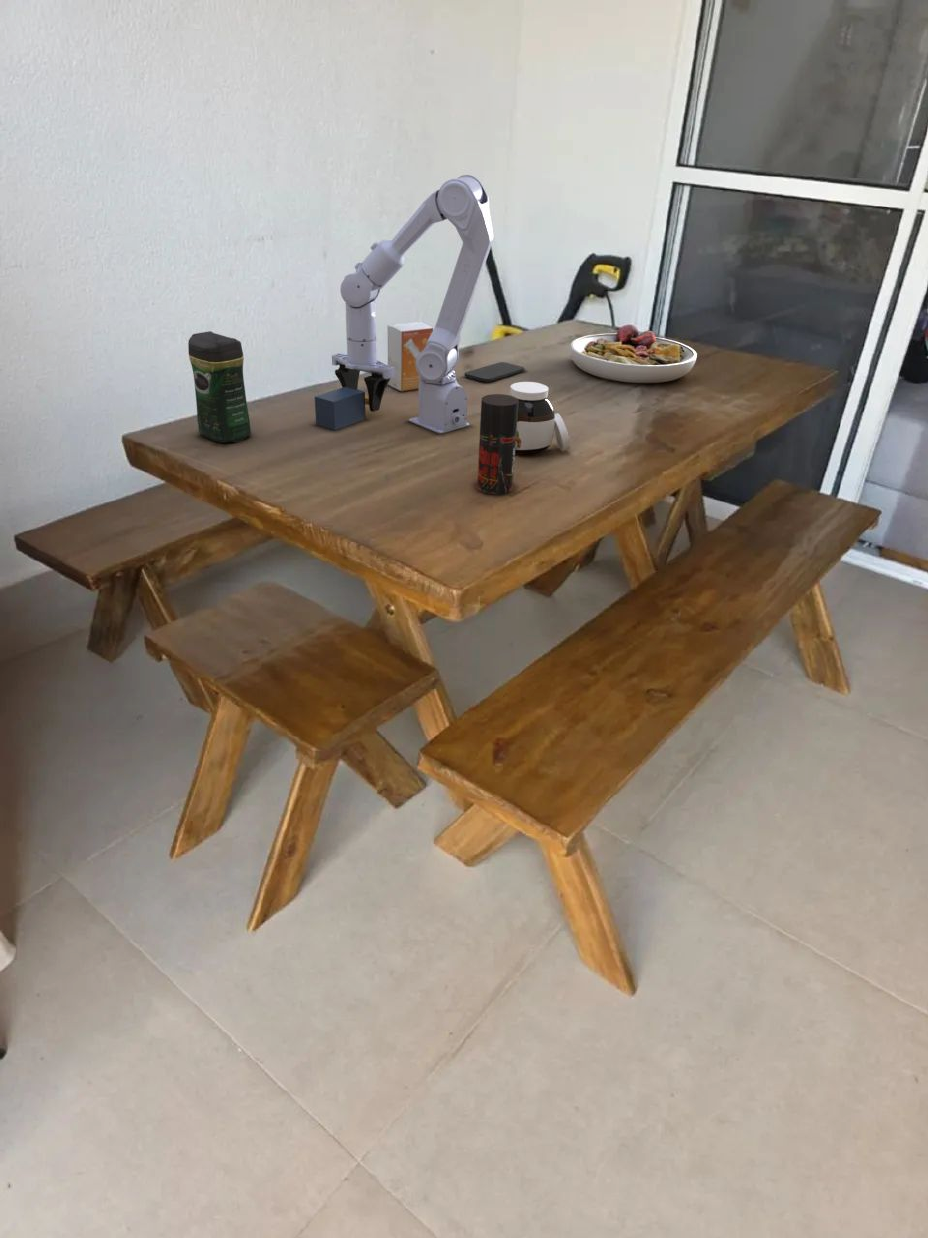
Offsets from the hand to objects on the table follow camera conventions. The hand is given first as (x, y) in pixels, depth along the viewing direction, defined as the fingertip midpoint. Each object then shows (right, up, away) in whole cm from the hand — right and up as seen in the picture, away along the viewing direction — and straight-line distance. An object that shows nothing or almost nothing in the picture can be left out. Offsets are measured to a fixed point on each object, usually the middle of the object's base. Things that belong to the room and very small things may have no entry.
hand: (363, 407), depth 172 cm
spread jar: (+34, -11, -12) cm, 37 cm away
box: (-3, -3, -3) cm, 5 cm away
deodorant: (+25, -21, -28) cm, 43 cm away
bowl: (+61, +18, +37) cm, 73 cm away
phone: (+28, +15, +29) cm, 42 cm away
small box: (+8, +9, +18) cm, 22 cm away
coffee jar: (-24, -9, -12) cm, 28 cm away
